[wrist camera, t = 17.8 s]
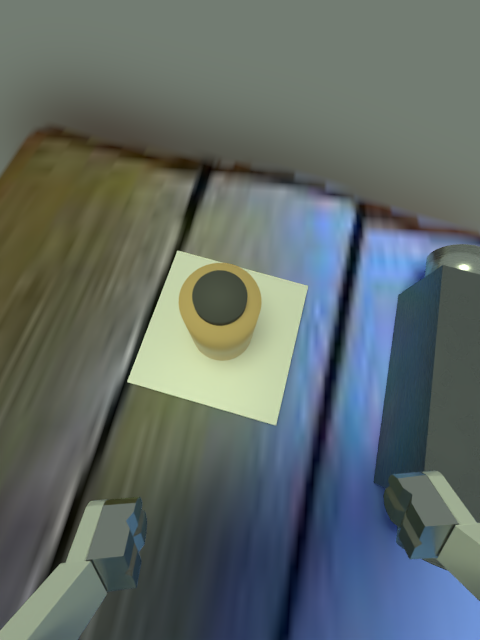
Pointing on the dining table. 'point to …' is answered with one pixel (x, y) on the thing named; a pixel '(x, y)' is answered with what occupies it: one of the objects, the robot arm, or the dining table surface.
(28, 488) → the dining table surface
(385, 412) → the motor housing
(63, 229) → the dining table surface
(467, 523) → the robot arm
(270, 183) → the dining table surface
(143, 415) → the dining table surface
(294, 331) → the far side pad
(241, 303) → the yellow cylinder
